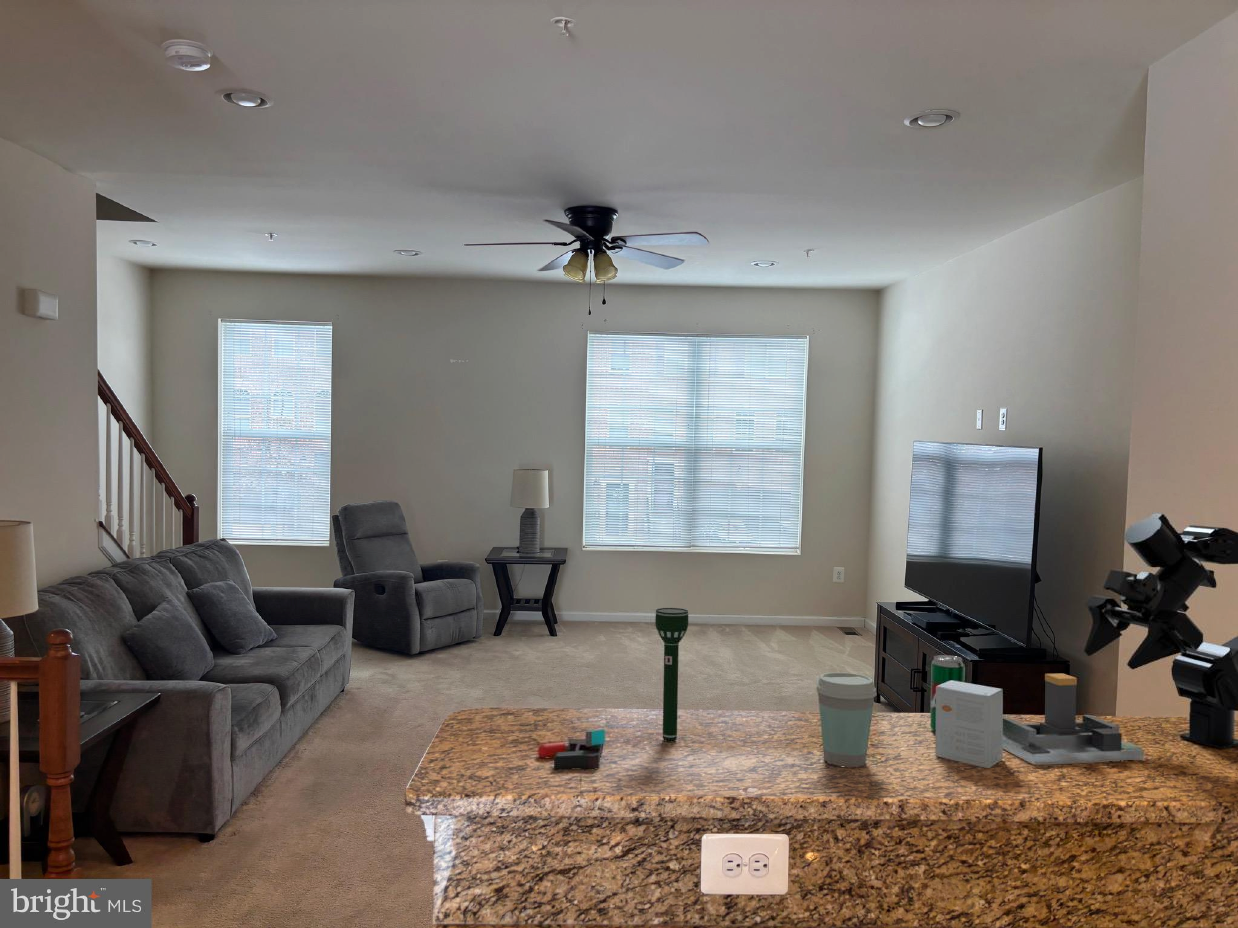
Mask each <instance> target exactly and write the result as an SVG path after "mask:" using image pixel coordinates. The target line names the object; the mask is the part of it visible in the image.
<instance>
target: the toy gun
mask: <svg viewBox="0 0 1238 928" xmlns="http://www.w3.org/2000/svg"><path fill="white" fill-rule="evenodd" d="M605 744H606V729H605V728H601V729H593V730H592V729H591V730H586V731H585V739H584V738H568V743H565V742H564V741H557V742H549V743H542V744H540V746H539V747H538V748H537V755H538V757H539V758H540V757H542V758H541V759H543V758H546V757H554V758H553V769H554V771H560V770H559V769H568V770H573V769H572V768H581V769H580V770H588V769H595V768H598V769H599V768H600V764H601V763H600V762H601V759H600V758H602V756H601V755H603V748H604V745H605ZM599 763H600V764H599ZM595 770H596V769H595Z"/></svg>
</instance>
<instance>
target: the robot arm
mask: <svg viewBox="0 0 1238 928" xmlns="http://www.w3.org/2000/svg"><path fill="white" fill-rule="evenodd" d="M1123 537H1124V540H1125V542H1126V543H1127V544H1128V545H1129V546H1130V548H1131V549H1132V550H1133V551H1134V552H1135V553H1136V554H1137V556H1138V557H1139V558H1140V559H1141V560H1142V561H1143V562H1144V563H1145V564H1146V566H1147V567H1150V568H1159V569H1158V570H1157V571H1156V572H1155V573H1153V572H1148V571H1141V572H1139V573H1138V574H1137V573H1133V572H1129V571H1124V570H1118V569H1112V568H1111V569H1109V571H1108V574H1107V577H1106V579H1105V581H1104V583H1103V586H1102V588H1103V589H1104V590H1107V591H1111V592H1113V593H1114V594H1117V595H1119V596H1121V597H1120V598H1119V600H1120V602H1121V603H1122V604H1123V605H1125V606H1126V607H1127V608H1126V609H1125V608H1123V607H1122V606H1121V605H1120V604H1119V603H1118V602H1117V600H1116V599H1115V598H1113V597H1108V596H1103V595H1091V596H1090V597H1089V599H1087V601H1086V602H1085V603H1084V606H1085V607H1086V608H1087V611H1088V614H1090V616H1091V619H1092V624H1091V629H1090V631H1089V634H1088V638H1087V641H1086V643H1085V647H1084V650H1083V652H1084V654H1085V655H1086V656H1088V657H1091V656H1092V655H1095V654H1096V653H1098V652H1099V651H1101V650H1102V649H1104V648H1105V647H1107V646H1108V645H1110V644H1112V643H1113V642H1115V640H1117V639H1119V638H1120V637H1121V636H1123V633H1122V632H1123V631H1126V630H1127V629H1128V628H1129V627H1130V626H1131V625H1135V626H1139V627H1142V628H1145V629H1147V635H1146V636H1145V638H1144V639H1143V640H1142V642H1141V643H1140V645H1138V647H1137V648H1136V649H1135V651H1134V652H1133V654H1132V655H1131V657H1130V658H1129V660H1128V662H1127V663H1126V665H1127V667H1128V668H1129V669H1131V670H1136V669H1138V668H1140V667H1143V666H1146V665H1149V664H1152V663H1153V662H1157V661H1159V660H1162V659H1164V658H1169V657H1171V656H1175V655H1177V656H1176V657H1175V658H1174V659H1173V660H1172V665H1171V671H1170V672H1171V678H1172V681H1173V682H1174V684H1175V688H1176V692H1177V695H1178V696H1179V697H1181V698H1186V699H1189V700H1190V701H1189V714H1188V720H1189V721H1188V732H1185V733H1180V734H1179V738H1181V739H1185V740H1188V741H1191V742H1195V743H1199V744H1202V745H1206V746H1209V747H1211V748H1216V749H1220V750H1221V749H1227V748H1228V749H1229V748H1233V747H1238V738H1235V711H1236V712H1238V635H1237V636H1235V637H1234V638H1231V639H1230V640H1228V641H1226V642H1224V643H1223V644H1221V645H1220V644H1216V643H1212V642H1207V641H1204V633H1203V632H1202V630H1201V629H1200V628H1199V627H1198V626H1197V625H1196V624H1195V623H1194V621H1193V620H1192V619H1191V618H1190V617H1189V616H1188V615H1187V612H1188V610H1189V609H1190V606H1189V605H1188V604H1187V603H1186V602H1187V601H1189V599H1190V597H1192V595H1193V594H1194V593H1195V592H1196V591H1197V589H1198V588H1199V587H1205V588H1211V589H1216V588H1217V587H1218V586H1217V580H1216V577H1215V571H1214V570H1213V569H1212V570H1211V569H1207V568H1206V567H1205V566H1204V565H1203V563H1209V564H1216V565H1238V532H1237V531H1235V530H1232V529H1230V528H1229V527H1228V528H1226V527H1222V526H1221V527H1218V526H1217V527H1216V526H1207V525H1195V524H1193V525H1191V524H1190V525H1188V526H1186V527H1185V529H1184V530H1183V531H1182V532H1178V531H1177V530H1176V528H1174V526H1173V524H1172V523H1170V521H1169V519H1168V518H1167V516H1166V515H1165V514H1163V513H1152V514H1151V515H1150V516H1149V517H1147V518H1144V519H1142V520H1139V521H1138V522H1136V523H1134V524H1133V525H1130V526H1129V527H1128V528H1127V529H1126V531H1125V533H1124V536H1123ZM1201 562H1202V563H1201Z"/></svg>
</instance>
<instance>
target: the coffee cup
mask: <svg viewBox="0 0 1238 928" xmlns="http://www.w3.org/2000/svg"><path fill="white" fill-rule="evenodd" d="M815 691H816V692H817V696H818V708H819V709H818V711H819V717H820V730H821V738H822V739H821V740H822V753H823V760H824V759H825V760H826V761H827V762H829V763H831V764H834V765H838V766H837V767H839V766H844V767H843V768H846V767H856V768H860V767H859V766H861V767H863V766H864V765H866V763H867V754H868V748H869V747H868V746H869V740H870V732H871V725H872V717H873V709H874V703H875V697H876V696H877V689H876V687H875V685H874V681H873V679H872V678H871V677H869V676H867V675H863V674H859V673H851V672H842V671H841V672H838V671H836V672H835V671H833V672H827V673H826V672H825V673H822V674H820V675H819V679H818V682H817V683H816V688H815ZM825 760H824V761H825ZM826 761H825V762H826ZM827 762H826V763H827ZM829 763H828V764H829ZM831 764H830V765H831ZM834 765H833V766H834ZM862 765H863V766H862Z"/></svg>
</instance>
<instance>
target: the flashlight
mask: <svg viewBox="0 0 1238 928" xmlns="http://www.w3.org/2000/svg"><path fill="white" fill-rule="evenodd" d="M655 628H656V631H657V634H658V635H659V638H660V639H661V640H662V642H663V643H664V644H663V645H664V646H663V693H662V695H663V696H662V697H663V698H662V699H663V700H662V740H663V739H664V740H666V741H670V742H669V743H672V742H671V741H674V742H675V740H676V741H677V738H678V702H679V701H678V697H679V694H678V691H679V646H680V645H679V643H680V642H681V640H683V638H684V637H685V635H686V633H687V631H688V628H689V611H688V610H687V609H685V608H677V607H661V608H657V609H656V610H655ZM664 740H663V741H664ZM666 741H665V742H666Z"/></svg>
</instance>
